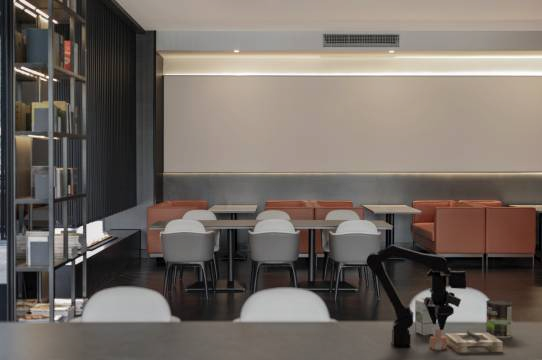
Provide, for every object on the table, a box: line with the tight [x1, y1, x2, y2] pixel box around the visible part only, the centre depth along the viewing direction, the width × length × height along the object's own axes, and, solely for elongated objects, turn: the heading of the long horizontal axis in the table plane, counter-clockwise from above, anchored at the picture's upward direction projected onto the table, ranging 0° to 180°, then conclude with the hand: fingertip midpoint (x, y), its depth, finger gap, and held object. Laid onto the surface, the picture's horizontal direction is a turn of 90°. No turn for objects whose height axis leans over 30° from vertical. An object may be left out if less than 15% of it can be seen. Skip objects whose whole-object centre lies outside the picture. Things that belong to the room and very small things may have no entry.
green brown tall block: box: [485, 299, 513, 339], centre depth 277 cm, size 10×10×14 cm
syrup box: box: [414, 297, 434, 336], centre depth 279 cm, size 6×6×14 cm
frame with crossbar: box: [444, 330, 504, 354], centre depth 258 cm, size 18×14×6 cm
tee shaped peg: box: [429, 328, 448, 350], centre depth 257 cm, size 6×3×7 cm, turn 94°
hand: (438, 327), depth 257 cm, fingers open, 9 cm apart
